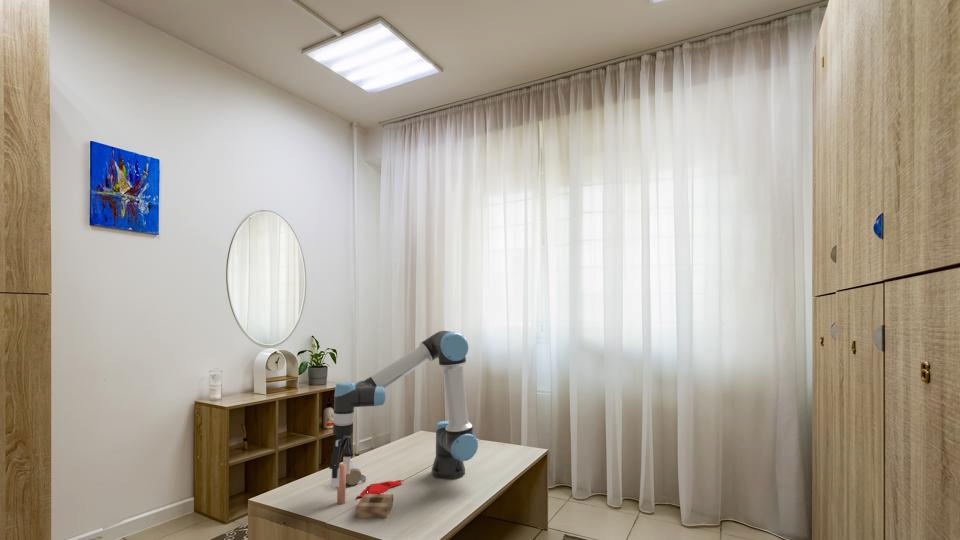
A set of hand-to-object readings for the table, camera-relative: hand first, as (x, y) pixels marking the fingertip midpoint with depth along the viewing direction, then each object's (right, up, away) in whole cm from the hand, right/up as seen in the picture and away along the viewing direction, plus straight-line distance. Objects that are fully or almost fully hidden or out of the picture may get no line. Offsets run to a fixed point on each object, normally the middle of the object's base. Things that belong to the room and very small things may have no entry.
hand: (340, 479), depth 184 cm
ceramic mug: (-1, -10, +21) cm, 23 cm away
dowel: (0, -9, -1) cm, 9 cm away
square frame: (+15, -8, -8) cm, 19 cm away
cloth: (+12, -11, +14) cm, 21 cm away
